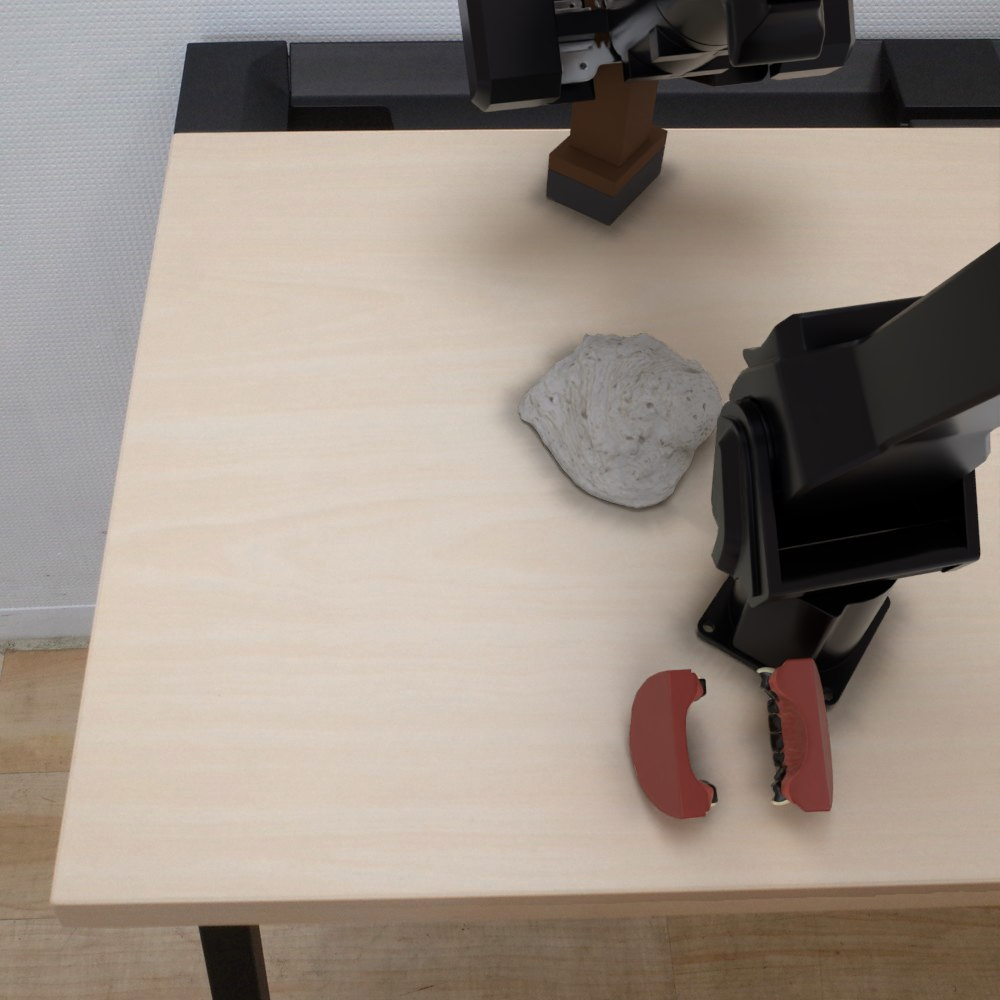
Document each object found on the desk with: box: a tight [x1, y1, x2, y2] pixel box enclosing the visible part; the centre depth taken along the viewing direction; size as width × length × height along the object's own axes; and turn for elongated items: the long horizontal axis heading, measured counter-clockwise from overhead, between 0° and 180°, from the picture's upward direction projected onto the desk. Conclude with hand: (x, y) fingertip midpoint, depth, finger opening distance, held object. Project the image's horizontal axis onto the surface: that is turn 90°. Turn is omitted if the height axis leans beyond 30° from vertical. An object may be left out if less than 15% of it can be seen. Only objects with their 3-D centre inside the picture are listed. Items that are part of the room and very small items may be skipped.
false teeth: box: [628, 658, 834, 820], centre depth 42 cm, size 6×4×8 cm
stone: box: [517, 332, 723, 510], centre depth 53 cm, size 10×5×10 cm
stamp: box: [545, 0, 668, 226], centre depth 60 cm, size 6×4×13 cm
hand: (610, 62), depth 60 cm, fingers closed on stamp, 5 cm apart
